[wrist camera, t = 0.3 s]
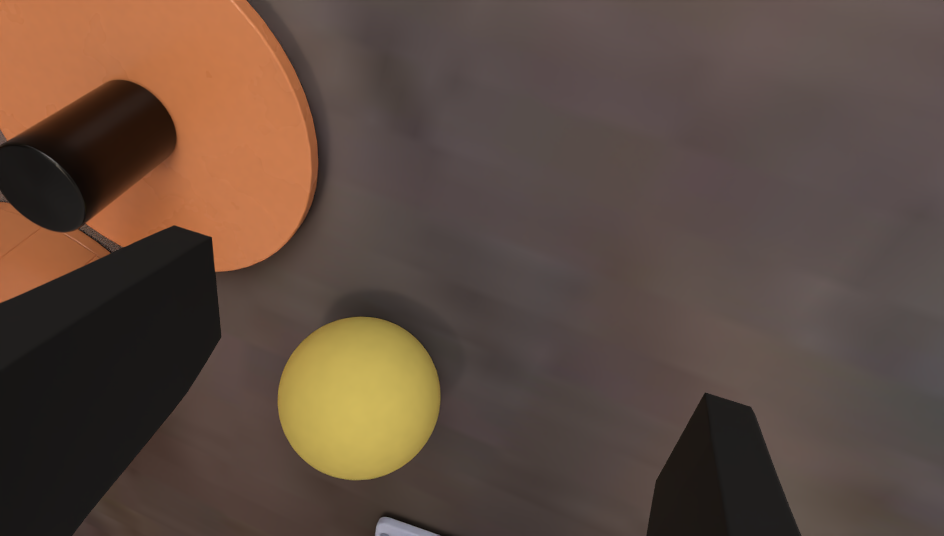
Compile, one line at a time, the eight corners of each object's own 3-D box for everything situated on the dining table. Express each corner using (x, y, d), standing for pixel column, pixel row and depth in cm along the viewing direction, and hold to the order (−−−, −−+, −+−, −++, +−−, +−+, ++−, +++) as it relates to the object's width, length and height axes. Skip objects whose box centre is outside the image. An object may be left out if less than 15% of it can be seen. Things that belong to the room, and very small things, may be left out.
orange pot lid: (324, 291, 25) (248, 399, 21) (42, 202, 26) (-79, 288, 22) (332, -38, 18) (221, 33, 14) (-54, -137, 19) (-255, -98, 15)
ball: (449, 412, 27) (400, 534, 23) (319, 369, 27) (250, 481, 23) (470, 312, 23) (417, 434, 20) (322, 266, 24) (242, 375, 20)
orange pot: (187, 423, 32) (88, 552, 27) (-12, 354, 33) (-141, 466, 29) (158, 247, 26) (21, 375, 21) (-88, 169, 27) (-272, 272, 22)
